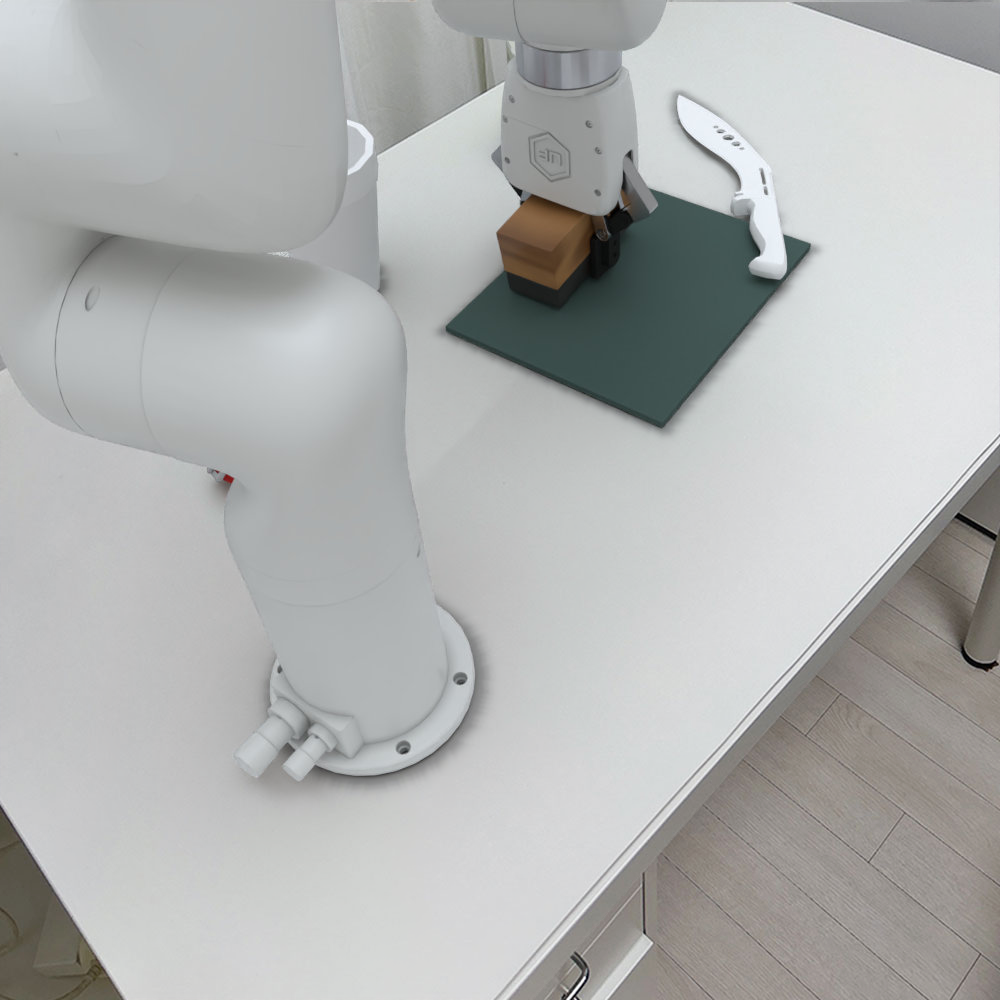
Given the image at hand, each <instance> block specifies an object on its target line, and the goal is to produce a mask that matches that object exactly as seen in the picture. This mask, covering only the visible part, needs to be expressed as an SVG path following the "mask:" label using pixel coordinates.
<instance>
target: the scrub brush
mask: <svg viewBox="0 0 1000 1000" xmlns="http://www.w3.org/2000/svg"><path fill="white" fill-rule="evenodd" d="M620 193H621V197H622V200H623V204H624V207H625V206H626V205H628V204H630V201H629V200H628V198H627V197H626V195H625V194H624V192H623V190H621V191H620ZM607 216H610V213H608V214H607ZM629 227H630V225H629V226H628V227H627V228H625V229H623V230H622V231H620V237H621V236H622V235H623V234H624V232H625V231H626V230H627V229H628V228H629ZM495 233H496V239H497V243H498V248H499V252H500V257H501V261H502V265H503V271H504V270H505V271H506V275H507V279H508V284H509V288H510V289H511V290H514V291H516V292H519V293H521V294H524V295H527V296H529V297H532V298H535V299H537V300H540V301H542V302H545V303H548V304H550V305H553V306H556V307H558V308H560V307H561V306H562V305H563V304H564V302H565V301H566V300H567V299H568V298H569V297H570V295H571V294H572V293H573V292H574V291H575V290H576V288H577V287H578V286H579V285H580V284H581V283H582V281H583V280H584V279H585V278H586V277H587V276H588V274H589V273H590V239H591V237H592V236H593V235H594V234H595V233H596V232H595V229H594V226H593V222H592V219H591V215H589V214H586V213H583V212H580V211H577V210H575V209H572V208H569V207H566V206H564V205H561V204H558V203H556V202H553V201H550V200H547V199H545V198H542V197H539V196H537V195H534V194H531V195H530V196H529V198H528V199H527V200H526V201H525V202H524V203H523V204H522V205H521V206H520V205H519V207H518V208H517V209H516V210H515V211H514V212H513V213H512V215H510V217H509V218H507V220H506V221H505V222H504V223H503V224H502V225H501V226H500V227H499V228H498V229H497V231H496V232H495Z"/></svg>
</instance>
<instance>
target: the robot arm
mask: <svg viewBox="0 0 1000 1000" xmlns="http://www.w3.org/2000/svg"><path fill="white" fill-rule="evenodd" d="M430 1H431V2H430V3H431V5H432V7H433V9H434V11H435V13H436V14H437V16H438V17H439V19H440V20H441V21H442V22H443V23H444V24H445V25H446V26H448V27H449V28H450V29H452V30H454V31H456V32H458V33H461V34H464V35H467V36H470V37H475V38H476V37H477V38H481V39H490V40H500V41H506V40H507V41H515V53H516V56H515V57H513V58H512V59H511V60H510V61H509V63H508V66H507V67H506V71H505V76H504V83H503V90H502V100H501V111H500V113H501V114H500V144H499V146H498V147H497V148H496V149H495V150H494V151H493V152H492V153H491V155H490V156H491V157H490V158H491V160H492V162H493V163H494V164H495V166H496V167H497V168H498V169H499V170H500V171H501V173H502V174H503V176H504V178H505V180H506V181H507V182H508V184H509V185H510V187H511V188H512V190H513V191H514V192H515V193H516V195H517V196H518V197H519V207H520V206H521V205H522V204H523V203H524V202H525V201H526V200H527V199H528V198H529V196H530V195H531V194H534V195H537V196H539V197H542V198H545V199H547V200H550V201H553V202H556V203H558V204H561V205H564V206H566V207H569V208H572V209H575V210H577V211H580V212H583V213H586V214H589V215H591V219H592V222H593V226H594V229H595V232H596V233H595V234H594V235H593V236H592V237H591V239H590V275H591V277H593V278H595V279H599V278H600V277H601V276H602V275H603V274H604V273H605V272H606V271H607V270H608V269H609V268H612V267H613V266H614V265H615V264H616V263H617V262H618V260H619V257H620V231H622V230H623V229H625V228H627V227H628V226H629V225H631V224H633V223H636V222H639V221H641V220H643V219H645V218H648V217H649V216H650V215H651V214H652V213H653V212H654V211H655V210H656V209H657V208H658V203H657V201H656V199H655V198H654V196H653V194H652V193H651V191H650V190H649V188H650V187H648V185H647V183H646V182H645V180H644V178H643V177H642V175H641V174H640V172H639V132H638V131H639V130H638V119H637V110H636V103H635V96H634V89H633V84H632V80H631V75H630V70H629V69H628V68H627V67H625V66H623V52H625V51H628V50H632V49H636V48H637V47H640V46H641V45H642V44H644V43H645V42H646V41H647V40H649V39H650V38H651V36H652V35H653V34H654V33H655V32H656V30H657V28H658V27H659V25H660V23H661V20H662V18H663V16H664V13H665V10H666V7H667V3H668V0H430ZM336 5H337V4H336V0H0V356H1V358H2V361H3V363H4V365H5V367H6V369H7V371H8V373H9V375H10V377H11V379H12V381H13V383H14V384H15V386H16V388H17V390H18V391H19V392H20V394H21V396H22V397H23V398H24V399H25V401H26V402H27V403H28V404H29V405H30V407H32V408H33V410H35V411H36V412H37V413H38V414H39V415H40V416H42V417H43V418H44V419H46V420H47V421H49V422H50V423H52V424H54V425H56V426H58V427H60V428H61V429H64V430H67V431H69V432H71V433H72V432H73V433H76V434H79V435H82V436H85V437H88V438H93V439H97V440H99V441H104V442H107V443H112V444H114V445H115V444H116V445H120V446H123V447H127V448H132V449H136V450H141V451H145V452H149V453H153V454H157V455H161V456H165V457H170V458H172V459H175V460H177V461H181V462H184V463H188V464H193V465H196V466H200V467H204V468H206V469H207V468H211V469H214V470H217V471H220V472H222V473H225V474H228V475H229V476H231V477H233V478H234V480H233V482H232V484H231V483H230V487H229V489H228V492H227V493H226V498H225V501H224V505H223V507H224V508H223V529H224V534H225V538H226V542H227V545H228V548H229V551H230V553H231V556H232V557H233V560H234V562H235V565H236V567H237V569H238V570H239V571H238V572H239V573H240V575H241V577H242V579H243V582H244V585H245V586H246V589H247V591H248V594H249V596H250V598H251V600H252V603H253V605H254V607H255V609H256V612H257V614H258V616H259V619H260V621H261V623H262V625H263V628H264V630H265V633H266V635H267V638H268V639H269V642H270V644H271V646H272V649H273V651H274V653H275V656H276V658H275V661H274V663H273V665H272V670H271V675H270V679H269V701H270V705H271V706H270V707H269V708H267V710H266V713H267V715H268V718H267V719H266V720H265V721H264V722H263V724H261V726H260V727H259V728H258V729H257V730H256V731H253V733H251V735H249V737H248V738H247V739H246V740H245V741H244V742H243V743H242V744H241V745H240V747H238V748H237V750H236V751H235V752H234V753H233V754H232V756H231V757H232V759H233V760H234V762H235V763H236V764H237V765H238V766H239V767H240V768H241V769H242V770H243V771H244V772H245V773H247V774H248V775H249V776H251V777H253V778H256V779H258V778H259V777H260V776H261V775H262V773H264V772H265V770H266V769H267V768H268V767H269V766H270V765H271V764H272V762H273V761H274V760H275V759H276V758H277V757H278V756H279V752H280V751H281V750H282V749H283V748H284V747H285V746H286V745H287V743H288V745H289V746H290V747H292V749H293V750H294V752H292V754H291V755H290V756H289V757H288V758H287V759H286V760H285V761H284V762H283V764H282V765H281V766H282V769H283V770H284V771H285V772H286V773H287V775H289V776H290V777H291V778H292V779H293V780H295V781H297V782H302V780H304V778H305V777H306V776H307V775H308V774H309V772H310V771H311V770H312V769H313V768H314V767H315V766H316V767H319V768H321V769H324V770H327V771H329V772H332V773H335V774H342V775H347V776H355V777H359V776H360V777H361V776H362V777H365V776H367V777H368V776H380V775H383V774H387V773H393V772H397V771H400V770H402V769H406V768H407V767H410V766H412V765H415V764H417V763H419V762H420V761H421V760H423V759H425V758H427V757H428V756H430V755H432V754H433V753H434V752H436V751H437V750H438V749H439V748H440V747H441V746H443V745H444V744H445V743H446V742H447V741H448V740H450V738H451V737H452V735H453V734H454V733H455V731H457V729H458V728H459V727H460V725H461V724H462V722H463V720H464V718H465V716H466V714H467V712H468V711H469V708H470V706H471V702H472V699H473V695H474V693H475V682H476V670H475V661H474V656H473V652H472V647H471V643H470V641H469V639H468V637H467V635H466V633H465V632H464V629H463V628H462V626H461V625H460V624H459V623H458V622H457V621H456V619H455V617H453V616H452V615H451V614H450V613H449V612H448V611H447V610H445V609H444V608H443V607H442V606H441V605H439V604H437V601H436V597H435V592H434V588H433V587H434V586H433V582H432V576H431V572H430V568H429V563H428V558H427V553H426V548H425V543H424V538H423V534H422V529H421V524H420V519H419V516H418V515H419V514H418V509H417V504H416V501H415V496H414V491H413V486H412V481H411V474H410V469H409V463H408V453H407V442H406V439H407V438H406V407H407V406H406V405H407V386H408V348H407V342H406V335H405V331H404V327H403V324H402V321H401V320H400V317H399V315H398V313H397V311H396V310H395V308H394V307H393V306H392V305H391V303H390V302H389V301H388V300H387V299H386V298H385V296H383V294H381V293H380V292H379V290H378V291H376V290H375V289H374V288H372V287H371V286H370V285H368V284H366V283H365V282H363V281H361V280H359V279H357V278H355V277H353V276H351V275H349V274H346V273H344V272H342V271H339V270H336V269H333V268H330V267H327V266H324V265H321V264H317V263H313V262H309V261H305V260H300V259H296V258H290V257H289V256H284V255H279V254H272V253H283V252H284V253H285V252H287V251H288V250H292V249H295V248H299V247H301V246H303V245H305V244H307V243H309V242H311V241H313V240H315V239H316V238H317V237H318V236H320V235H321V234H322V233H323V232H324V231H325V230H326V229H327V228H328V227H329V226H330V224H331V223H332V222H333V221H334V219H335V217H336V215H337V213H338V211H339V209H340V207H341V204H342V201H343V196H344V191H345V187H346V181H347V175H348V130H347V119H348V117H347V106H346V105H347V104H346V94H345V85H344V74H343V65H342V56H341V54H342V53H341V45H340V44H341V43H340V35H339V26H338V24H339V23H338V17H337V16H338V15H337V6H336ZM621 190H623V192H624V194H625V195H626V197H627V198H628V200H629V201H630V204H628V205H626V206H625V207H624V204H623V200H622V197H621V193H620V191H621ZM608 213H610V216H607V214H608ZM404 752H406V753H404Z"/></svg>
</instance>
